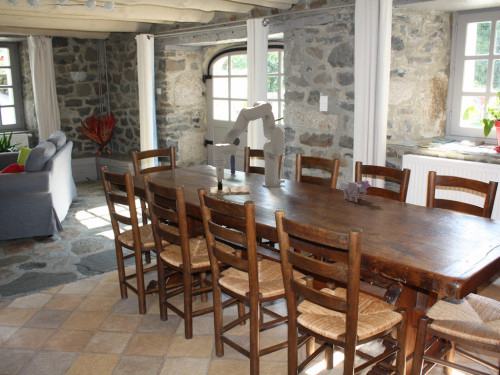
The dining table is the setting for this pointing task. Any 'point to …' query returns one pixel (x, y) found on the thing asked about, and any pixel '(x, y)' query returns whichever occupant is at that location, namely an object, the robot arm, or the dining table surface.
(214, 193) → the oak plank
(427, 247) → the dining table surface
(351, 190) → the toy sheep
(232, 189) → the laid board
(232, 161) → the rubber mallet
